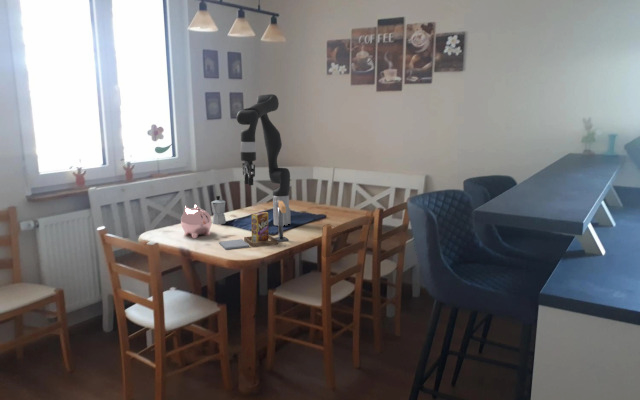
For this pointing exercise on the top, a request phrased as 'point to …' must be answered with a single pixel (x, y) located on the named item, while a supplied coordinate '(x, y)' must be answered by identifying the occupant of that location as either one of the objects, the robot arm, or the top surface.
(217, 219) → the coffee maker
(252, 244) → the wooden tray
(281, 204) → the arm
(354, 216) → the top surface
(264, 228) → the candy box
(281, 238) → the post
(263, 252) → the top surface
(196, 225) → the piggy bank
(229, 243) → the mat
